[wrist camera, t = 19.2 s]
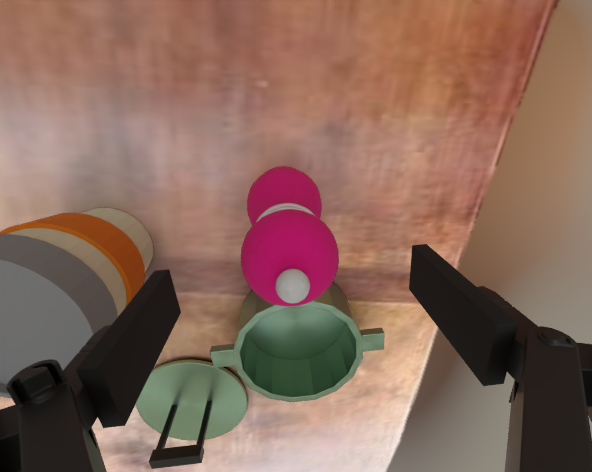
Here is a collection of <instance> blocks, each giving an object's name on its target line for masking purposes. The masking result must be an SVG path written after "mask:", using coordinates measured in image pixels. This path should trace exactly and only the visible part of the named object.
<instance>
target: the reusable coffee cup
mask: <svg viewBox="0 0 592 472" xmlns="http://www.w3.org/2000/svg"><path fill="white" fill-rule="evenodd" d="M152 257H153V243H152V239H151V237H150V235H149V233H148V231H147V230H146V228H145V227H144V226H143V225H142V224H141V223H140V222H139V221H138V220H137V219H135V218H134V217H133V216H131V215H129V214H127V213H125V212H123V211H120V210H117V209H112V208H96V209H92V210H89V211H85V212H82V213H62V214H58V215H54V216H50V217H47V218H43V219H39V220H35V221H31V222H28V223H24V224H20V225H16V226H12V227H9V228H7V229H5V230H3V231H1V232H0V396H2V397H8V398H12V397H11V396H10V394H9V393H8V391H7V389H6V387H7V384H8V382H9V381H10V380H11V379H12V377H13V376H14V375H16V374H17V373H18V372H20V371H21V370H22V369H24V368H26V367H28V366H30V365H32V364H34V363H37V362H39V361H42V360H48V359H53V360H57V361H58V362H59V364H60V366H61V368H62V370H64V368H65V367H66V366H67V365H68V364H69V363H70V361H71V360H72V359H73V358H74V357H75V355H76V354H77V353H79V351H80V350H81V348H82V347H83V346H84V345H86V342H87V341H88V340H89V339H90V338H91V337H92V335H93V334H94V333H96V332H97V331H99V330H100V329H101V328H103V327H104V326H107V325H112V324H113V322H114V321H115V320H116V319H117V317H118V316H119V315H120V314H121V312H122V311H123V310H124V309H125V307H126V306H127V305H128V304H129V302H130V301H131V300H132V299H133V297H134V296H135V295H136V294H137V292H138V291H139V290H140V289H141V287H142V286H143V283H144V278H145V272H146V270H147V268H148V266H149V264H150V262H151V260H152Z"/></svg>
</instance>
